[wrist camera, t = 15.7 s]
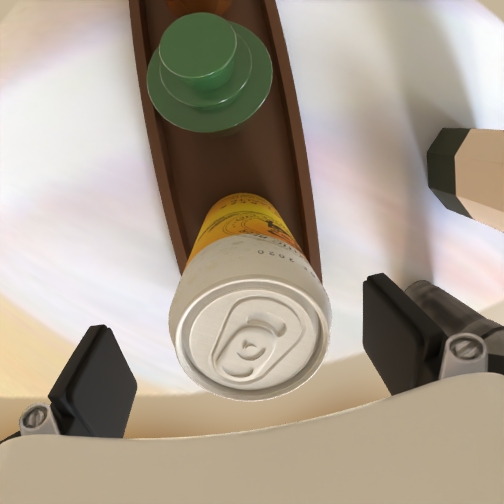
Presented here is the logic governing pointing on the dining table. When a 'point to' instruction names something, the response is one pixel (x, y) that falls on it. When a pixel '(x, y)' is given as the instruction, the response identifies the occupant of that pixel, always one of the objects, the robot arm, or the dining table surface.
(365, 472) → the robot arm
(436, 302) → the beverage cup
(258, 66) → the green bottle
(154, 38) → the tray
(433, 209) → the dining table surface
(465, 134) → the wine bottle
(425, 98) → the dining table surface
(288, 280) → the beer can
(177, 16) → the amber bottle
